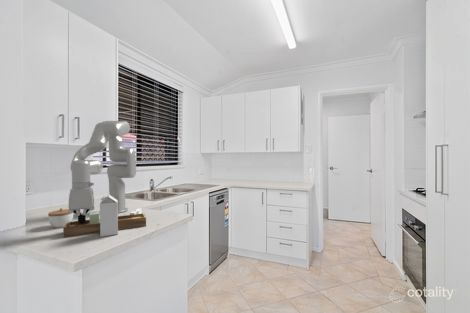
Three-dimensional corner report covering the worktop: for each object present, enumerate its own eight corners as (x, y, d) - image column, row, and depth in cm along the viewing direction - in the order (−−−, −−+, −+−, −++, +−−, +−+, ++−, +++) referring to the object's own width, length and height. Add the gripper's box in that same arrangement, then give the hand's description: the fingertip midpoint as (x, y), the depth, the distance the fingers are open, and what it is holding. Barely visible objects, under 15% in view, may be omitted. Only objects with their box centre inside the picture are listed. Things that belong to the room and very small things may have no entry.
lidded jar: (53, 224, 124) (53, 207, 124) (76, 222, 127) (76, 205, 127) (44, 230, 114) (44, 211, 114) (70, 227, 117) (69, 209, 117)
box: (68, 231, 112) (68, 222, 112) (144, 221, 127) (144, 213, 127) (63, 237, 103) (63, 227, 103) (146, 226, 118) (145, 217, 118)
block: (90, 222, 115) (90, 213, 115) (99, 221, 117) (99, 212, 117) (89, 224, 112) (89, 214, 112) (98, 223, 113) (98, 213, 113)
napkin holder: (139, 215, 142) (139, 206, 142) (152, 218, 136) (152, 208, 136) (116, 221, 129) (116, 211, 129) (129, 224, 123) (129, 214, 123)
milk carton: (117, 230, 112) (117, 191, 112) (117, 234, 106) (117, 193, 106) (101, 232, 109) (100, 193, 109) (100, 237, 103) (99, 195, 103)
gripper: (99, 184, 119) (100, 219, 119) (64, 186, 112) (65, 223, 112) (98, 185, 112) (98, 222, 112) (60, 187, 105) (61, 227, 105)
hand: (81, 222), depth 112 cm, fingers closed
